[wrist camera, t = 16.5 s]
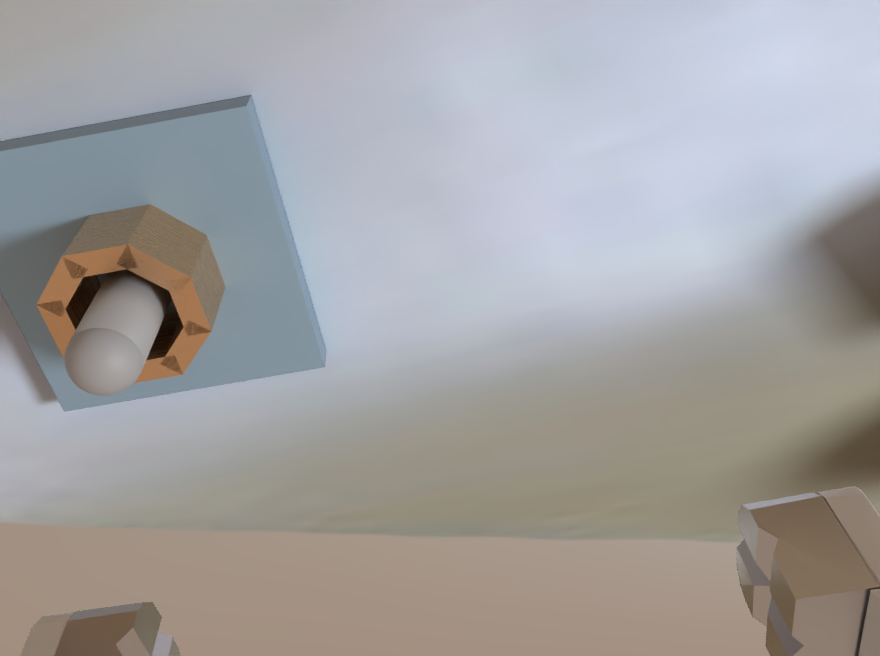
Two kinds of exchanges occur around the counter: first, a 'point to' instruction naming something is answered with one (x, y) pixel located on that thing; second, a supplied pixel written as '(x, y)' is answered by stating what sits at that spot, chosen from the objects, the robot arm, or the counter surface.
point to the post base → (187, 189)
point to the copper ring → (150, 256)
